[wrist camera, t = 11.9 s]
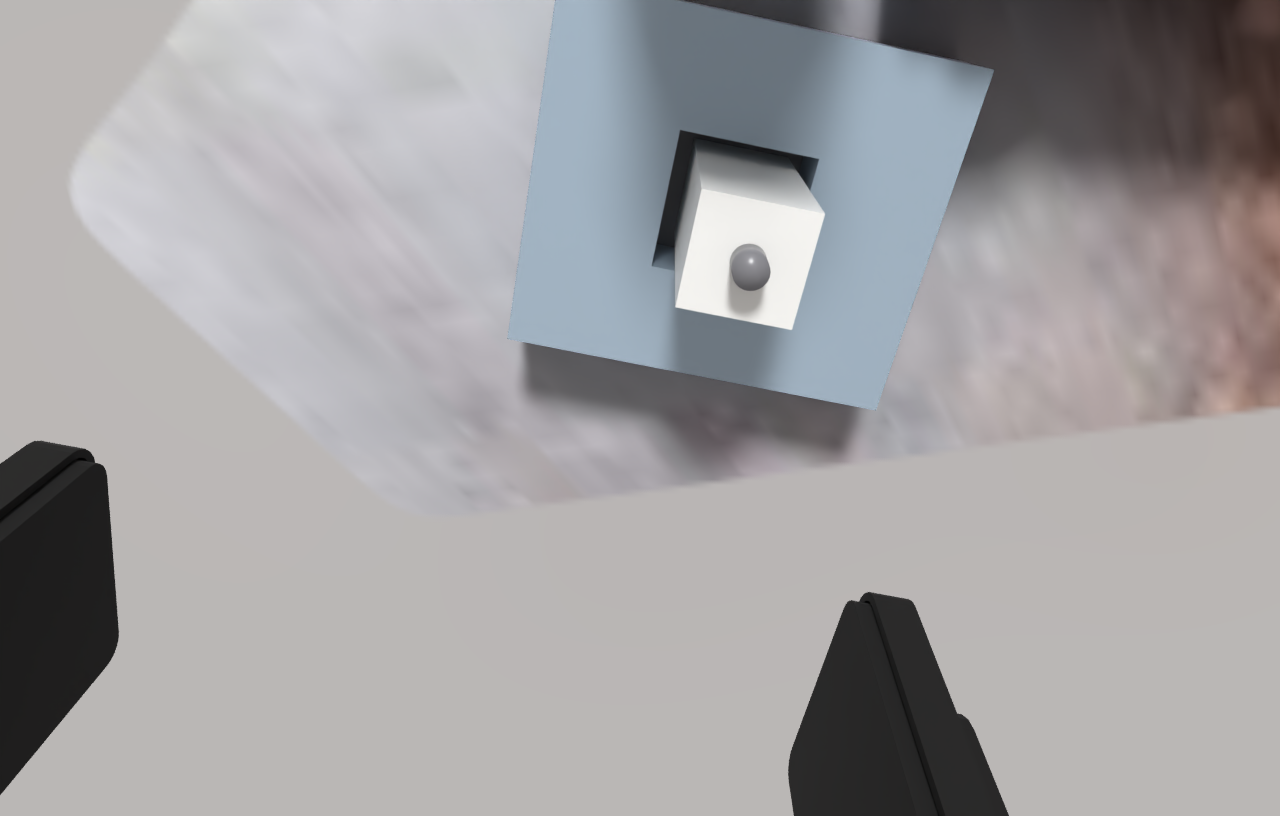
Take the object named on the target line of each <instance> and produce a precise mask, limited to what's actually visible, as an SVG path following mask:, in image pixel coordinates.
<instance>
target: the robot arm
mask: <svg viewBox="0 0 1280 816" xmlns="http://www.w3.org/2000/svg"><path fill="white" fill-rule="evenodd" d="M118 637H119V630H118V617H117V603H116V590H115V578H114V563H113V550H112V537H111V524H110V510H109V496H108V483H107V474H106V470H105V468H104V466H103V465H101V464H98V463H95V460H94V457H93V456H92V454H91V452H89V451H88V450H86V449H82V448H77V447H71V446H66V445H61V444H55V443H50V442H44V441H34V442H32V443H30V444H28V445H26V446H25V447H23V448H22V449H20V450H19V451H18V452H16V453H15V454H13V455H12V456H11V457H9V458H8V459H6V460H5V461H4V462H2V463H1V464H0V795H1V793H2V792H3V791H4V790H5V789H6V787H7V786H8V785H9V784H10V783H11V781H12V780H13V779H14V778H15V776H16V775H17V774H18V773H19V772H20V770H21V769H22V768H23V767H24V766H25V764H26V763H27V762H28V761H29V759H30V758H31V757H32V756H33V755H34V753H35V752H36V751H37V750H38V749H39V747H40V746H41V745H42V744H43V743H44V741H45V740H46V739H47V738H48V737H49V735H50V734H51V733H52V732H53V730H54V729H55V728H56V727H57V726H58V724H59V723H60V722H61V721H62V720H63V718H64V717H65V716H66V715H67V713H68V712H69V711H70V710H71V709H72V707H73V706H74V705H75V704H76V703H77V701H78V700H79V699H80V698H81V697H82V695H83V694H84V693H85V692H86V690H87V689H88V688H89V687H90V686H91V684H92V683H93V682H94V681H95V680H96V678H97V677H98V676H99V675H100V674H101V672H102V671H103V670H104V669H105V667H106V666H107V665H108V663H109V662H110V660H111V658H112V657H113V655H114V653H115V650H116V647H117V643H118ZM788 771H789V773H788V776H789V786H790V792H791V799H792V805H793V812H794V816H1009V815H1008V812H1007V810H1006V808H1005V805H1004V802H1003V800H1002V798H1001V795H1000V793H999V790H998V788H997V785H996V783H995V780H994V778H993V776H992V773H991V770H990V768H989V765H988V763H987V761H986V758H985V756H984V753H983V751H982V748H981V746H980V743H979V741H978V738H977V736H976V733H975V731H974V729H973V727H972V725H971V724H970V722H969V720H968V719H967V718H966V717H964V716H963V715H962V714H957V712H956V710H955V707H954V704H953V702H952V699H951V697H950V694H949V692H948V689H947V687H946V684H945V682H944V679H943V676H942V674H941V671H940V669H939V666H938V664H937V661H936V658H935V656H934V653H933V651H932V648H931V646H930V643H929V640H928V638H927V635H926V633H925V630H924V628H923V625H922V623H921V620H920V617H919V615H918V612H917V610H916V607H915V605H914V604H913V602H912V601H911V600H909V599H904V598H898V597H892V596H887V595H882V594H876V593H871V592H868V593H865V594H864V595H863V596H862V597H861V599H860V601H859V602H857V601H852V600H851V601H848V602H847V604H846V606H845V607H844V610H843V612H842V615H841V618H840V620H839V623H838V626H837V628H836V631H835V634H834V636H833V639H832V642H831V644H830V647H829V650H828V653H827V655H826V658H825V661H824V663H823V666H822V669H821V671H820V674H819V677H818V680H817V682H816V685H815V688H814V691H813V693H812V696H811V698H810V701H809V704H808V707H807V709H806V712H805V715H804V717H803V720H802V723H801V725H800V728H799V731H798V733H797V736H796V739H795V742H794V744H793V747H792V750H791V754H790V759H789V769H788Z"/></svg>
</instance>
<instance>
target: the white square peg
mask: <svg viewBox="0 0 1280 816" xmlns="http://www.w3.org/2000/svg"><path fill="white" fill-rule="evenodd" d="M824 216H825V213H824V211H823V210H822V208H821V207H820V205H819V204H818V202H817V201H816V199H815V198H814V196H813V195H812V193H811V192H810V190H809V189H808V187H807V185H806V184H805V182H804V181H803V179H802V178H801V176H800V175H799V173H798V172H797V170H796V169H795V167H794V166H793V164H792V163H791V161H790V160H789V158H788V157H783V156H778V155H773V154H768V153H763V152H759V151H754V150H749V149H744V148H739V147H734V146H730V145H725V144H720V143H715V142H710V141H705V140H701V139H696V138H694V142H693V147H692V152H691V156H690V161H689V166H688V170H687V175H686V180H685V184H684V189H683V194H682V198H681V203H680V208H679V212H678V217H677V222H676V226H675V231H674V239H675V307H677V308H682V309H687V310H692V311H697V312H702V313H707V314H712V315H717V316H723V317H728V318H733V319H738V320H743V321H748V322H753V323H758V324H763V325H768V326H774V327H779V328H784V329H789V330H792V328H793V324H794V321H795V317H796V314H797V310H798V307H799V303H800V300H801V297H802V293H803V290H804V286H805V283H806V279H807V276H808V272H809V269H810V265H811V262H812V258H813V255H814V251H815V248H816V244H817V241H818V237H819V234H820V230H821V227H822V223H823V220H824Z"/></svg>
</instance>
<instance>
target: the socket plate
mask: <svg viewBox="0 0 1280 816" xmlns="http://www.w3.org/2000/svg"><path fill="white" fill-rule="evenodd" d="M993 72H994V70H993V69H990V68H986V67H982V66H979V65H975V64H971V63H968V62H964V61H960V60H956V59H952V58H947V57H943V56H938V55H933V54H929V53H924V52H920V51H915V50H910V49H906V48H901V47H897V46H892V45H887V44H883V43H878V42H874V41H869V40H865V39H860V38H855V37H851V36H846V35H842V34H837V33H832V32H828V31H823V30H819V29H814V28H809V27H805V26H800V25H796V24H791V23H787V22H782V21H777V20H773V19H768V18H764V17H759V16H754V15H750V14H745V13H741V12H736V11H732V10H727V9H722V8H718V7H713V6H709V5H704V4H699V3H695V2H690V1H686V0H555V5H554V12H553V19H552V26H551V33H550V40H549V47H548V55H547V62H546V69H545V76H544V83H543V90H542V97H541V104H540V111H539V118H538V125H537V133H536V140H535V147H534V154H533V161H532V168H531V175H530V182H529V189H528V196H527V203H526V210H525V218H524V225H523V232H522V239H521V246H520V253H519V260H518V267H517V274H516V281H515V288H514V295H513V303H512V310H511V317H510V324H509V331H508V338H507V339H510V340H515V341H520V342H526V343H531V344H536V345H541V346H546V347H551V348H556V349H562V350H567V351H572V352H577V353H582V354H587V355H592V356H598V357H603V358H608V359H613V360H618V361H623V362H628V363H634V364H639V365H644V366H649V367H654V368H659V369H665V370H670V371H675V372H680V373H685V374H690V375H695V376H701V377H706V378H711V379H716V380H721V381H726V382H731V383H737V384H742V385H747V386H752V387H757V388H762V389H767V390H773V391H778V392H783V393H788V394H793V395H798V396H803V397H809V398H814V399H819V400H824V401H829V402H834V403H839V404H845V405H850V406H855V407H860V408H865V409H870V410H875V411H876V408H877V406H878V403H879V400H880V397H881V394H882V391H883V388H884V385H885V383H886V380H887V377H888V374H889V371H890V368H891V365H892V363H893V360H894V357H895V354H896V351H897V348H898V345H899V342H900V340H901V337H902V334H903V331H904V328H905V325H906V322H907V319H908V317H909V314H910V311H911V308H912V305H913V302H914V299H915V296H916V294H917V291H918V288H919V285H920V282H921V279H922V276H923V274H924V271H925V268H926V265H927V262H928V259H929V256H930V253H931V251H932V248H933V245H934V242H935V239H936V236H937V233H938V230H939V228H940V225H941V222H942V219H943V216H944V213H945V210H946V207H947V205H948V202H949V199H950V196H951V193H952V190H953V187H954V184H955V182H956V179H957V176H958V173H959V170H960V167H961V164H962V162H963V159H964V156H965V153H966V150H967V147H968V144H969V141H970V139H971V136H972V133H973V130H974V127H975V124H976V121H977V118H978V116H979V113H980V110H981V107H982V104H983V101H984V98H985V95H986V93H987V90H988V87H989V84H990V81H991V78H992V75H993ZM694 138H696V139H701V140H705V141H710V142H715V143H720V144H725V145H730V146H734V147H739V148H744V149H749V150H754V151H759V152H763V153H768V154H773V155H778V156H783V157H788V158H789V160H790V161H791V163H792V164H793V166H794V167H795V169H796V170H797V172H798V173H799V175H800V176H801V178H802V179H803V181H804V182H805V184H806V185H807V187H808V189H809V190H810V192H811V193H812V195H813V196H814V198H815V199H816V201H817V202H818V204H819V205H820V207H821V208H822V210H823V211H824V213H825V216H824V220H823V223H822V227H821V230H820V234H819V237H818V241H817V244H816V248H815V251H814V255H813V258H812V262H811V265H810V269H809V272H808V276H807V279H806V283H805V286H804V290H803V293H802V297H801V300H800V303H799V307H798V310H797V314H796V317H795V321H794V324H793V328H792V330H789V329H784V328H779V327H774V326H768V325H763V324H758V323H753V322H748V321H743V320H738V319H733V318H728V317H723V316H717V315H712V314H707V313H702V312H697V311H692V310H687V309H682V308H677V307H675V239H674V231H675V226H676V222H677V217H678V212H679V208H680V203H681V198H682V194H683V189H684V184H685V180H686V175H687V170H688V166H689V161H690V156H691V152H692V147H693V142H694Z"/></svg>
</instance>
